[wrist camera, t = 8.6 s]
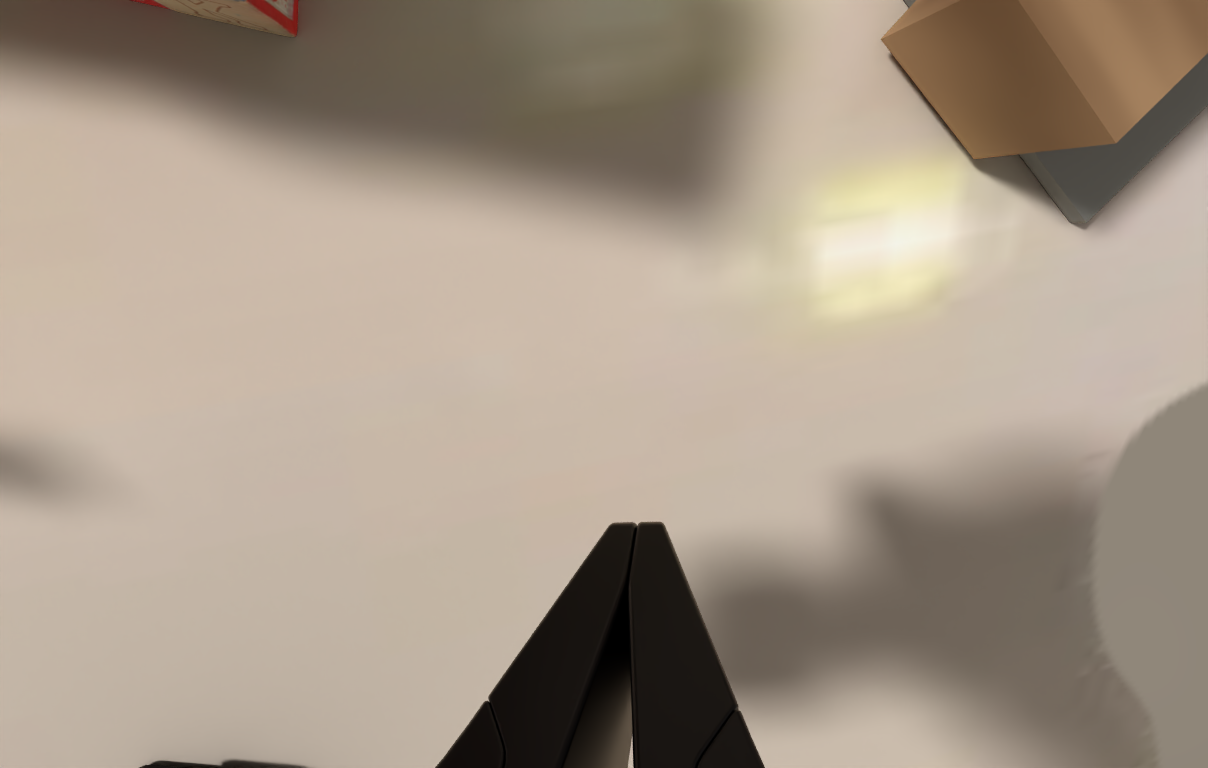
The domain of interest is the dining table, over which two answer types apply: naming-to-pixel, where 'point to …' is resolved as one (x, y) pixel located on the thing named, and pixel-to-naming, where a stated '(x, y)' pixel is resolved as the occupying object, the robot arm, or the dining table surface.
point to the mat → (1117, 151)
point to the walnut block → (1046, 66)
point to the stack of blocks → (241, 12)
